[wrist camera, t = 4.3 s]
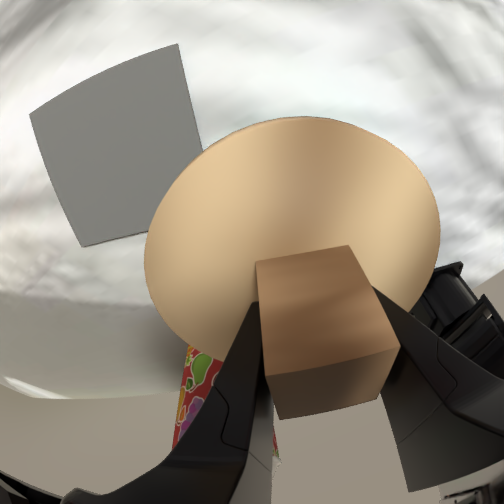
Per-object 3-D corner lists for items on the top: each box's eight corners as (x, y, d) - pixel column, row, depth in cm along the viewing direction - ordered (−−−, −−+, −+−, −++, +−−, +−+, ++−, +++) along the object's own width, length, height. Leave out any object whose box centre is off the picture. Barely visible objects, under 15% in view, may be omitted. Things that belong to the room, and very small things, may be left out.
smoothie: (219, 363, 30) (223, 529, 14) (165, 328, 26) (144, 528, 9) (280, 335, 27) (309, 528, 11) (229, 291, 23) (237, 547, 7)
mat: (178, 44, 12) (176, 43, 12) (218, 213, 19) (218, 215, 19) (31, 113, 13) (29, 114, 12) (83, 245, 20) (81, 247, 19)
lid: (436, 112, 7) (553, 163, 2) (402, 328, 13) (436, 404, 9) (106, 162, 7) (4, 252, 3) (203, 364, 14) (198, 451, 9)
